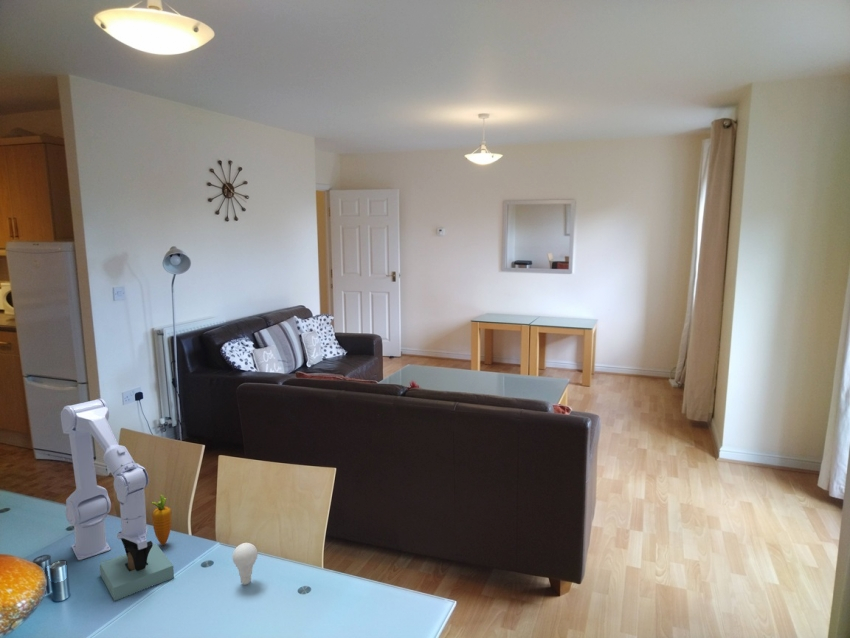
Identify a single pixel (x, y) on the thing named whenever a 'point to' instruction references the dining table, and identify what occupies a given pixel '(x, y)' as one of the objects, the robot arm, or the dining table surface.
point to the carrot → (162, 521)
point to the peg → (130, 562)
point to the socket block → (135, 573)
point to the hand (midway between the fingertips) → (136, 562)
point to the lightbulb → (245, 561)
